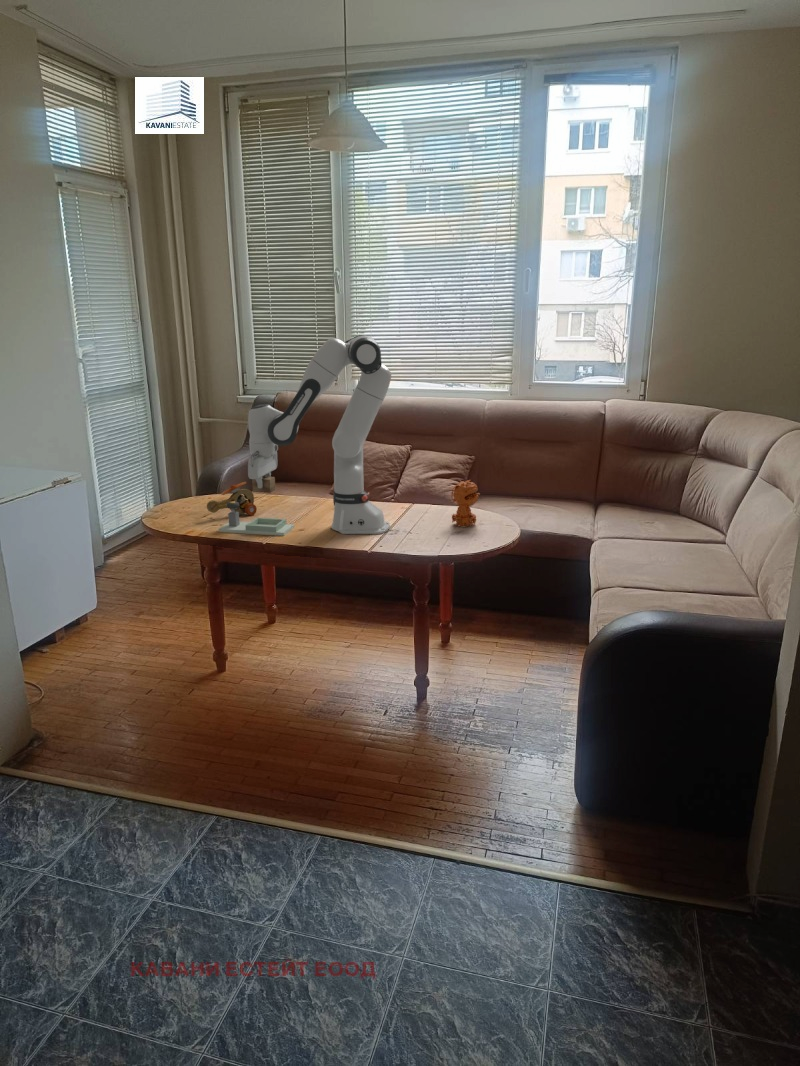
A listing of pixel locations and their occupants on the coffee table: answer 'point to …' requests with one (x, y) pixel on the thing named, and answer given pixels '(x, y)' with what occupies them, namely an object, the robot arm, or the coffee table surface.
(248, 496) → the toy helicopter
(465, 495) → the toy dinosaur
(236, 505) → the wheel knob
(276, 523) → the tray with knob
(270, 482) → the brown rectangular block
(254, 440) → the robot arm
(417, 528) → the coffee table surface
